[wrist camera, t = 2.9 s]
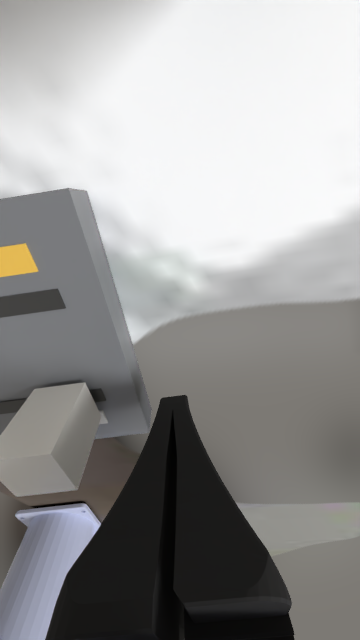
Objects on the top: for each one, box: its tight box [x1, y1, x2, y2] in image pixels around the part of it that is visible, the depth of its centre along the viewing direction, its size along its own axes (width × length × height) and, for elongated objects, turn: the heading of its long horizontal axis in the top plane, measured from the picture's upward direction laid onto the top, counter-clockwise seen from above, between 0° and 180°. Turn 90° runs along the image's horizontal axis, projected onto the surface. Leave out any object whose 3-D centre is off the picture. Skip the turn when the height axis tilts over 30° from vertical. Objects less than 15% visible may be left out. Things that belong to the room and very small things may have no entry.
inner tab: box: [0, 382, 101, 497], centre depth 11 cm, size 3×3×4 cm
